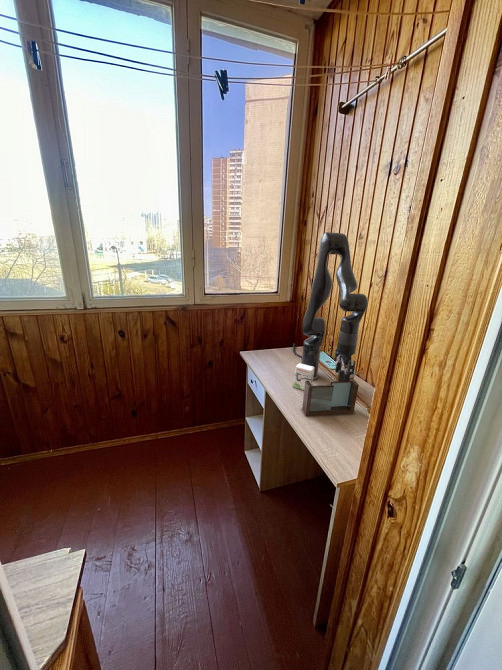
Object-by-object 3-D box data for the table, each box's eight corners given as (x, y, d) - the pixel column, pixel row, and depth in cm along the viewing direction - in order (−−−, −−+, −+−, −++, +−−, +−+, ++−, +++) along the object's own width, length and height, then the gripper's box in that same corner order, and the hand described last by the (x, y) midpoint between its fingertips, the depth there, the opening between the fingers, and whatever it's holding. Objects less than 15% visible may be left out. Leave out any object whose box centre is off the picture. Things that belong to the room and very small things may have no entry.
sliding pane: (326, 405, 131) (331, 370, 125) (346, 404, 132) (352, 369, 126) (327, 407, 130) (332, 371, 124) (347, 406, 131) (353, 371, 125)
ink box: (293, 387, 149) (295, 366, 145) (296, 383, 153) (298, 362, 149) (309, 392, 145) (311, 370, 141) (312, 387, 149) (314, 366, 145)
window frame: (302, 409, 131) (305, 380, 126) (348, 407, 134) (353, 378, 129) (305, 416, 126) (309, 386, 121) (353, 413, 129) (358, 384, 124)
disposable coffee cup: (355, 391, 147) (359, 370, 143) (345, 398, 140) (349, 376, 136) (339, 384, 153) (342, 363, 149) (328, 390, 147) (331, 369, 143)
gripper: (364, 348, 114) (357, 384, 120) (348, 335, 128) (343, 369, 133) (346, 348, 113) (340, 385, 119) (331, 335, 127) (327, 369, 132)
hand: (341, 376), depth 126 cm, fingers open, 8 cm apart
